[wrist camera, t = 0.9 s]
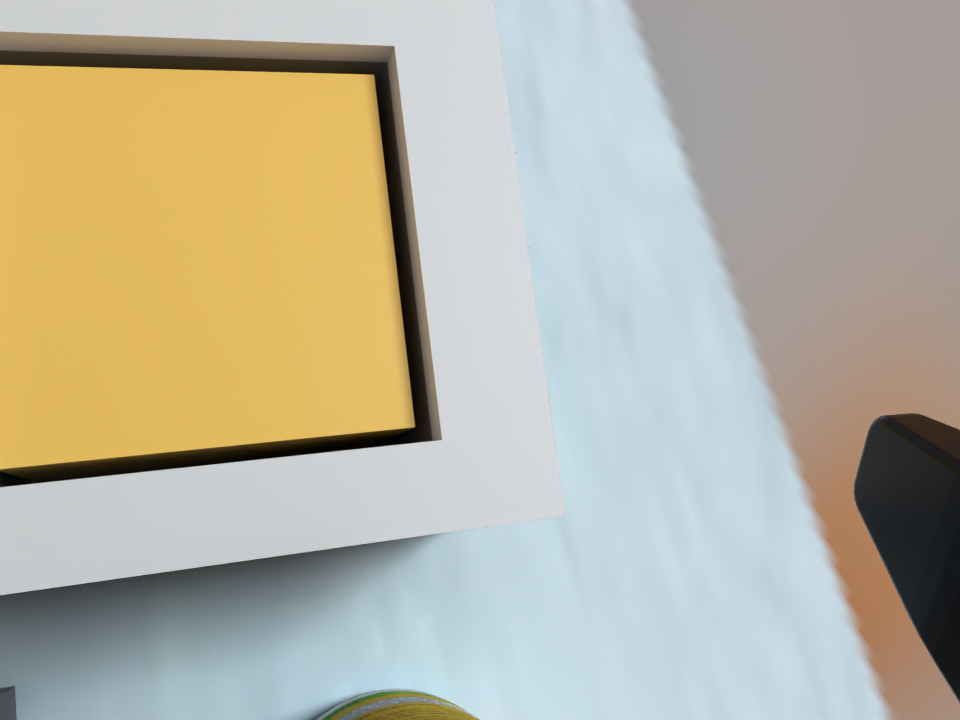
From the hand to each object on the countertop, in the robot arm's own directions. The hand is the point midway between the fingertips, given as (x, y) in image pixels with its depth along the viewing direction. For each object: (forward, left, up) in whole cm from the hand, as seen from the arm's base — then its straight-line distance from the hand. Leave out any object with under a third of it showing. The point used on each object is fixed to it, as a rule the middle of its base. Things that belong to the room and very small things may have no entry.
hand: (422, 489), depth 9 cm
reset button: (+4, +1, -11) cm, 12 cm away
